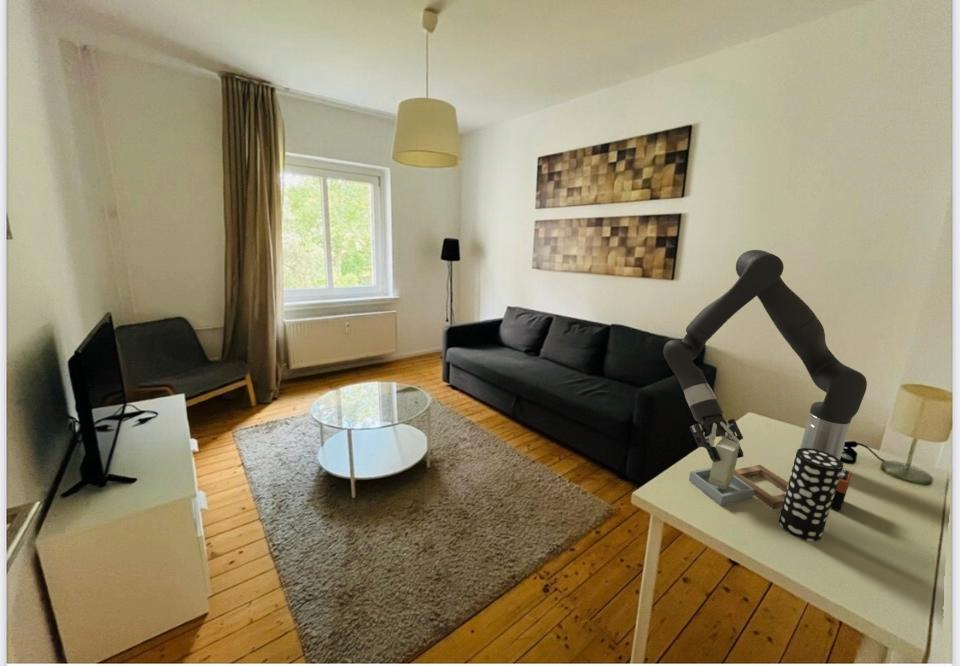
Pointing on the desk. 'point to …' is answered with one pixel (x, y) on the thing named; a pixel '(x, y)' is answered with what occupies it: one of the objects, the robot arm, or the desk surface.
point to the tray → (722, 497)
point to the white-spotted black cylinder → (810, 493)
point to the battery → (841, 490)
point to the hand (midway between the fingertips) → (728, 459)
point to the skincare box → (724, 463)
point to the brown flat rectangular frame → (760, 493)
